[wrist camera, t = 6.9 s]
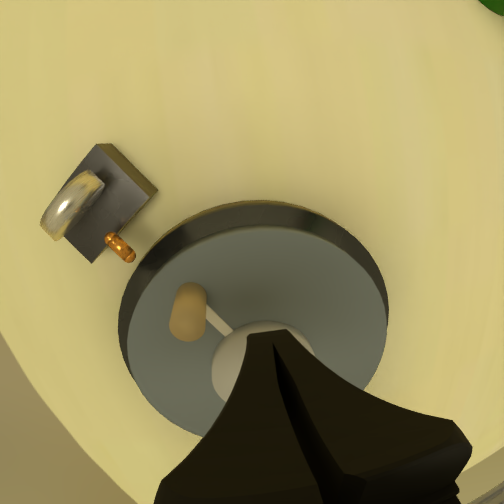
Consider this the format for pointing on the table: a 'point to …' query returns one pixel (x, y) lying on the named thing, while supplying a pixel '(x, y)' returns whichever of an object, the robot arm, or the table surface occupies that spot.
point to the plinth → (230, 218)
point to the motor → (494, 5)
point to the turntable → (249, 316)
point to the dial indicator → (98, 204)
